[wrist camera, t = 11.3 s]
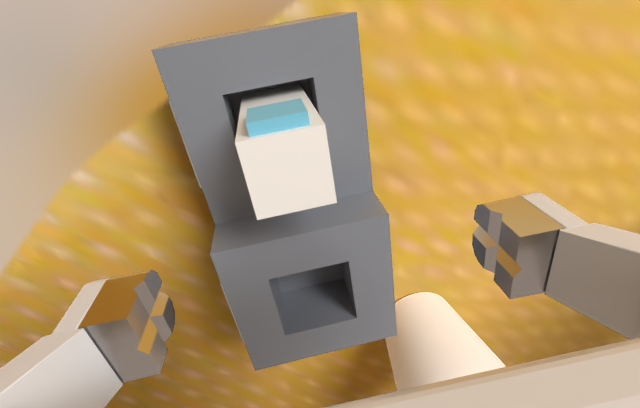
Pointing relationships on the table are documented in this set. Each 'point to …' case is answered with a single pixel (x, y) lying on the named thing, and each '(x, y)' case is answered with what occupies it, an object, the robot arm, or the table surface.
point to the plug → (284, 152)
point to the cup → (434, 343)
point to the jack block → (298, 227)
